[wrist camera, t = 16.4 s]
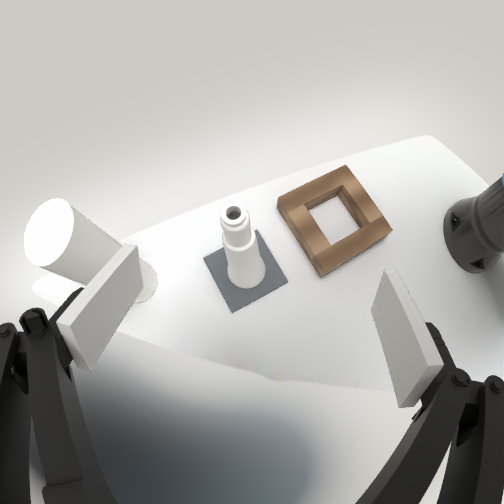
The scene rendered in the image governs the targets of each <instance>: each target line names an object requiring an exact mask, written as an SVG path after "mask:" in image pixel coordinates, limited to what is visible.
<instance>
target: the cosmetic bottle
mask: <svg viewBox="0 0 504 504" xmlns="http://www.w3.org/2000/svg"><path fill="white" fill-rule="evenodd" d="M220 223H221V226H222V229H223V233H222V240H223V245H224V249H225V253H226V257H227V261H228V268H227V272H228V276H229V279H230V280H231V282H232V283H233V284H234V285H236V286H238V287H240V288H245V289H248V288H253V287H255V286H257V285H258V284H259V283H260V282H261V281H262V280H263V278H264V276H265V271H266V268H265V264H264V261H263V260H262V258H261V257H260V253H259V248H258V243H257V238H256V234H255V231H254V229H253V227H252V226H251V225H250V217H249V213H248V211H247V210H246V209H245V207H244V206H243V205H242V204H240V203H238V202H230V203H228V204H226V205H225V206H224V207H223V208H222V211H221V215H220Z"/></svg>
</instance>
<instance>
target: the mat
mask: <svg viewBox="0 0 504 504" xmlns="http://www.w3.org/2000/svg"><path fill="white" fill-rule="evenodd" d="M255 234H256V238H257V243H258V248H259V253H260V257H261V258H262V260H263V261H264V264H265V268H266V271H265V276H264V278H263V280H262V281H261V282H260V283H259V284H258V285H257V286H255V287H253V288H248V289H245V288H240V287H238V286H236V285H234V284H233V283H232V282H231V280H230V279H229V276H228V272H227V268H228V261H227V257H226V253H225V249H224V247H223V248H221V249H219V250H218V251H216V252H214V253H212V254H210V255H208V256H206V257H204V260H205V262H206V264H207V266H208V268H209V270H210V272H211V274H212V276H213V278H214V280H215V282H216V283H217V285H218V287H219V289H220V291H221V293H222V295H223V297H224V299H225V300H226V302H227V304H228V306H229V308H230V310H231V312H232V313H233V312H235V311H237V310H238V309H240V308H242V307H244V306H246V305H248V304H249V303H251V302H253V301H255V300H257V299H259V298H260V297H262V296H264V295H266V294H268V293H269V292H271V291H273V290H275V289H277V288H278V287H280V286H282V285H284V284H286V283H287V282H288V281H287V279H286V277H285V276H284V274H283V272H282V270H281V269H280V267H279V265H278V264H277V262H276V260H275V259H274V257H273V255H272V254H271V252H270V250H269V249H268V247H267V245H266V244H265V242H264V240H263V238H262V237H261V235H260V233H259V232H258V230H255Z"/></svg>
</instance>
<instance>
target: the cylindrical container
mask: <svg viewBox="0 0 504 504" xmlns="http://www.w3.org/2000/svg"><path fill="white" fill-rule="evenodd" d="M122 247H123V245H121V244H120V243H119V242H117V241H116V240H115V239H113V238H112V237H111V236H109V235H108V234H107V233H105V232H104V231H103V230H101V229H100V228H99V227H98V226H96V225H95V224H94V223H92V222H91V221H90V220H89V219H87V218H86V217H85V216H83V215H82V214H81V213H79V212H78V211H77V210H76V209H75V208H73V207H72V206H71V205H70V204H68V203H67V202H66V201H65V200H62V199H52V200H49V201H47V202H45V203H43V204H42V205H41V206H40V207H39V208H38V209H37V210H36V211H35V213H34V214H33V216H32V217H31V219H30V221H29V223H28V225H27V228H26V231H25V236H24V249H25V253H26V256H27V257H28V259H29V261H30V262H31V263H33V264H34V265H36V266H39V267H41V268H43V269H46V270H48V271H50V272H53V273H55V274H58V275H60V276H63V277H65V278H68V279H70V280H73V281H75V282H78V283H81V284H83V285H86V286H87V285H88V284H89V282H90V281H91V280H92V279H93V278H94V277H95V276H96V275H97V274H98V272H99V271H100V270H101V269H102V268H103V267H104V266H105V265H106V264H107V263H108V262H109V261H110V260H111V258H112V257H113V256H114V255H115V254H116V253H117V252H118V251H119V250H120V249H121V248H122ZM139 262H140V269H141V275H142V281H143V287H144V288H143V289H142V291H141V292H140V294H139V295H138V297H137V298H136V300H135V301H134V302H135V303H141V302H144V301H146V300H148V299H149V298H150V297H151V296H152V295H153V294H154V292H155V290H156V287H157V275H156V272H155V270H154V269H153V268H152V267H151V266H150V265H149V264H147V263H146V262H145V261H143V260H142V259H141V258H139Z"/></svg>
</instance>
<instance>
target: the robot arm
mask: <svg viewBox="0 0 504 504" xmlns="http://www.w3.org/2000/svg"><path fill="white" fill-rule="evenodd" d="M444 235H445V240H446V243H447V246H448V249H449V251H450V253H451V255H452V256H453V258H454V259H455V261H456V262H457V263H458V264H459V265H460V266H461V267H462V268H464V269H465V270H467V271H469V272H472V273H480V272H483V271H485V270H487V269H489V268H491V267H492V266H493V265H494V264H495V263H496V261H497V260H498V259H499V258H500V257H501V255H502V254H503V253H504V174H503V176H502V177H501V178H500V179H499V180H498V181H496V182H495V183H494V184H493V185H492V186H490V187H489V188H488V189H486V190H485V191H484V192H483V193H482V194H480V195H479V196H477V197H473V198H468V199H464V200H460V201H458V202H457V203H455V204H454V205H453V206H452V207H451V208H450V209H449V210H448V212H447V213H446V216H445V220H444ZM143 288H144V287H143V281H142V275H141V269H140V262H139V256H138V249H137V245H127V244H125V245H124V246H123V247H122V248H121V249H120V250H119V251H118V252H117V253H116V254H115V255H114V256H113V257H112V258H111V260H110V261H109V262H108V263H107V264H106V265H105V266H104V267H103V268H102V269H101V270H100V271H99V272H98V274H97V275H96V276H95V277H94V278H93V279H92V280H91V281H90V282H89V284H88V285H87V286H86V287H85V288H82V287H81V288H79V289H78V290H76V291H74V292H73V293H72V294H71V295H70V296H69V297H68V298H67V301H65V302H64V303H63V304H62V306H60V308H59V309H58V310H57V311H56V312H55V314H54V315H53V316H52V317H51V318H50V319H49V321H48V319H47V316H46V314H45V311H44V310H43V309H41V308H32V309H29V310H27V311H26V312H24V313H23V314H22V316H21V317H20V320H19V322H20V324H21V326H22V328H23V330H24V332H18V331H17V329H16V328H15V326H14V324H12V323H4V324H2V325H0V504H31V498H30V479H29V445H30V426H31V414H32V419H33V425H34V431H35V437H36V442H37V446H38V451H39V456H40V460H41V464H42V468H43V472H44V476H45V479H46V486H45V487H43V489H42V494H43V499H44V502H45V504H118V502H117V501H116V499H115V498H114V496H113V494H112V492H111V490H110V487H109V485H108V483H107V480H106V478H105V476H104V473H103V471H102V469H101V466H100V463H99V461H98V458H97V456H96V453H95V450H94V447H93V444H92V441H91V439H90V435H89V433H88V429H87V426H86V423H85V420H84V416H83V413H82V409H81V406H80V402H79V398H78V394H77V390H76V386H75V382H74V377H73V373H72V369H71V367H70V365H69V364H70V363H71V361H72V360H74V362H75V364H76V366H77V367H78V368H81V369H83V370H86V371H89V372H91V371H92V369H93V367H94V366H95V364H96V362H97V360H98V358H99V357H100V355H101V354H102V352H103V350H104V349H105V347H106V345H107V344H108V342H109V341H110V339H111V337H112V336H113V334H114V333H115V331H116V329H117V328H118V326H119V325H120V323H121V321H122V320H123V318H124V317H125V315H126V314H127V312H128V311H129V309H130V307H131V306H132V304H133V303H134V301H135V300H136V298H137V297H138V295H139V294H140V292H141V291H142V289H143ZM371 312H372V315H373V318H374V322H375V325H376V328H377V331H378V334H379V337H380V341H381V344H382V347H383V351H384V354H385V357H386V361H387V364H388V368H389V371H390V375H391V379H392V383H393V386H394V390H395V394H396V398H397V402H398V406H399V408H405V407H414V406H415V405H416V403H417V402H418V401H419V399H421V402H422V407H421V408H420V409H419V410H418V412H417V413H416V414H415V415H414V416H413V418H412V420H413V422H412V423H411V425H410V427H409V428H408V430H407V432H406V434H405V435H404V437H403V438H402V440H401V442H400V443H399V445H398V446H397V448H396V449H395V451H394V453H393V454H392V456H391V457H390V459H389V460H388V462H387V463H386V464H385V466H384V467H383V469H382V470H381V471H380V473H379V474H378V475H377V477H376V478H375V480H374V481H373V482H372V483H371V485H370V486H369V488H368V489H367V490H366V491H365V493H364V494H363V495H362V496H361V497H360V499H359V500H358V501H357V502H356V503H355V504H419V502H420V501H421V499H422V497H423V496H424V494H425V492H426V491H427V489H428V487H429V485H430V484H431V481H432V480H433V478H434V476H435V474H436V472H437V470H438V468H439V466H440V464H441V462H442V460H443V458H444V456H445V454H446V452H447V450H448V447H449V445H450V442H451V448H450V452H449V457H448V462H447V467H446V471H445V475H444V479H443V483H442V487H441V491H440V494H439V498H438V501H437V504H501V501H502V496H503V490H504V381H503V380H502V379H501V378H499V377H497V376H494V375H491V376H488V378H487V379H486V380H485V381H484V383H482V382H477V381H472V380H471V379H470V376H469V375H468V374H467V373H466V372H465V371H464V370H462V369H459V368H456V366H455V364H454V362H453V360H452V357H451V355H450V353H449V351H448V349H447V347H446V346H445V343H444V341H443V339H442V337H441V335H440V333H439V331H438V329H437V328H436V327H435V326H434V325H433V324H432V323H425V322H424V320H423V318H422V316H421V314H420V312H419V310H418V308H417V306H416V304H415V302H414V300H413V298H412V297H411V295H410V293H409V291H408V289H407V287H406V285H405V284H404V282H403V280H402V278H401V276H400V275H399V273H398V271H397V270H388V269H384V272H383V275H382V279H381V282H380V285H379V288H378V291H377V294H376V297H375V300H374V303H373V306H372V309H371ZM451 440H452V441H451Z"/></svg>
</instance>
